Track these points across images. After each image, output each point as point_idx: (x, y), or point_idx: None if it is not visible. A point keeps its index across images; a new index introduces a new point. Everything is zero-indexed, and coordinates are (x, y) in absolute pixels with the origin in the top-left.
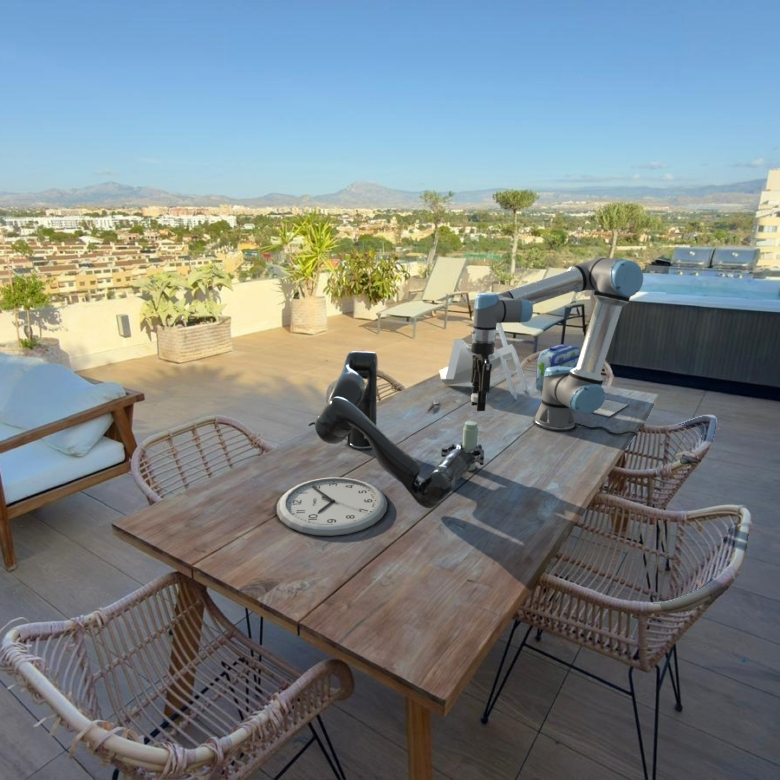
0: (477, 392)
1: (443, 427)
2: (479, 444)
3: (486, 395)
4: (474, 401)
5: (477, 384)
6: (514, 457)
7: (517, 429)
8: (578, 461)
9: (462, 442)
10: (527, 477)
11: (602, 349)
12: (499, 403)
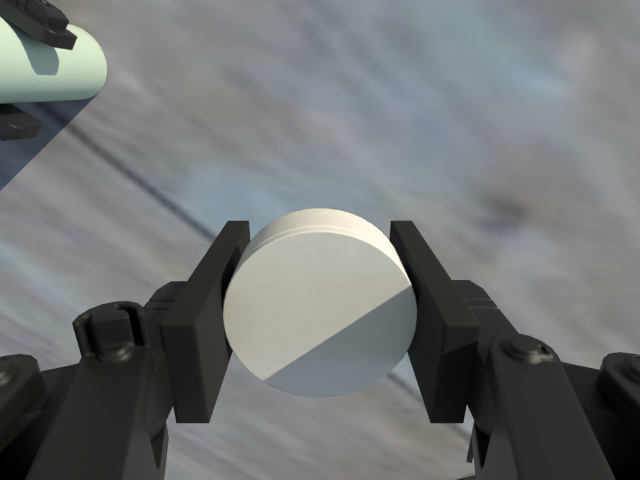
0: (129, 306)
1: (609, 71)
2: (3, 127)
3: (306, 395)
4: (260, 231)
5: (483, 414)
6: None
7: None
8: (167, 474)
9: (16, 13)
10: (13, 285)
11: None
12: None
